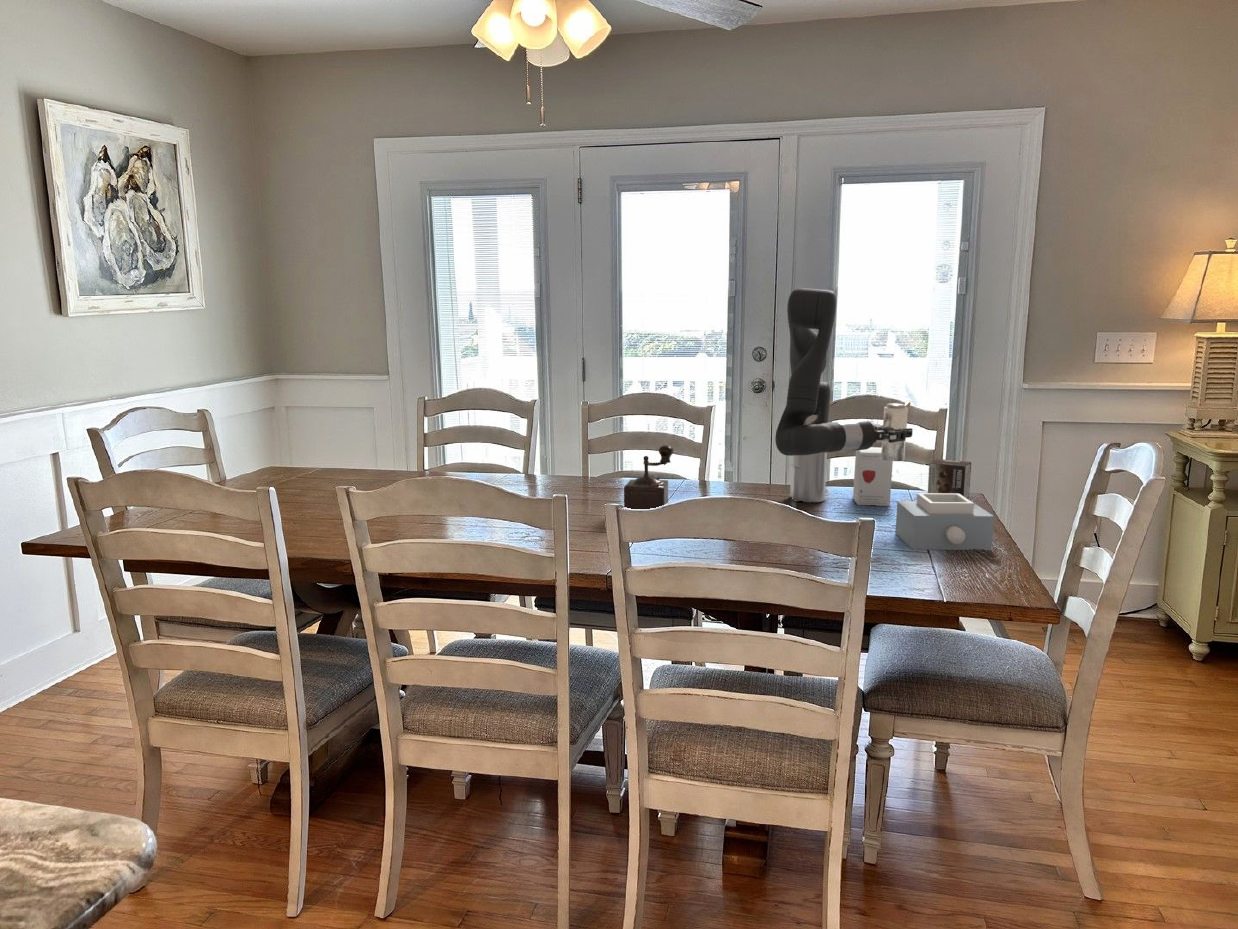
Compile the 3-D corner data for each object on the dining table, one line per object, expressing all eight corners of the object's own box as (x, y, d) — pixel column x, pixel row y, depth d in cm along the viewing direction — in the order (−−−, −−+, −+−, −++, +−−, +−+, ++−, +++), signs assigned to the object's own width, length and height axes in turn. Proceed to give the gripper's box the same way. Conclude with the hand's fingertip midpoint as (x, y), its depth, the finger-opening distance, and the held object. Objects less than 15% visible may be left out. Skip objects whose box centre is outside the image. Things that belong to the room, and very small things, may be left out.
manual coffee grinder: (665, 525, 232) (666, 454, 228) (622, 522, 234) (622, 453, 230) (673, 510, 247) (674, 444, 243) (633, 508, 249) (633, 442, 245)
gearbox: (916, 553, 207) (919, 508, 205) (895, 533, 224) (898, 491, 222) (996, 554, 207) (1000, 508, 205) (969, 533, 224) (972, 491, 222)
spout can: (892, 462, 225) (896, 404, 223) (876, 458, 230) (879, 401, 227) (914, 459, 229) (918, 402, 226) (897, 455, 234) (901, 400, 231)
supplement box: (856, 505, 252) (859, 452, 249) (852, 498, 260) (855, 446, 257) (890, 506, 251) (894, 452, 248) (885, 499, 259) (888, 446, 256)
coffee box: (967, 524, 233) (972, 461, 229) (961, 529, 227) (966, 465, 224) (931, 519, 238) (935, 457, 234) (924, 524, 232) (928, 461, 229)
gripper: (872, 424, 214) (925, 419, 222) (831, 416, 226) (882, 412, 234) (870, 455, 215) (922, 450, 223) (829, 446, 228) (880, 441, 236)
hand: (901, 430), depth 229 cm, fingers closed on spout can, 5 cm apart
